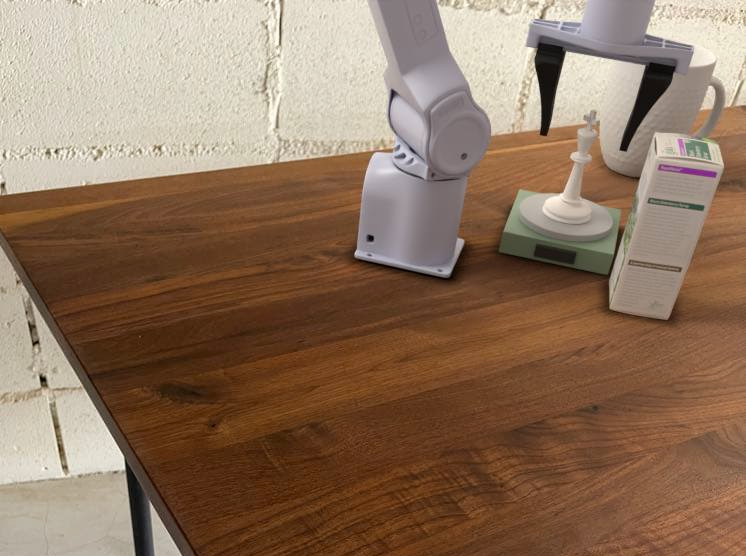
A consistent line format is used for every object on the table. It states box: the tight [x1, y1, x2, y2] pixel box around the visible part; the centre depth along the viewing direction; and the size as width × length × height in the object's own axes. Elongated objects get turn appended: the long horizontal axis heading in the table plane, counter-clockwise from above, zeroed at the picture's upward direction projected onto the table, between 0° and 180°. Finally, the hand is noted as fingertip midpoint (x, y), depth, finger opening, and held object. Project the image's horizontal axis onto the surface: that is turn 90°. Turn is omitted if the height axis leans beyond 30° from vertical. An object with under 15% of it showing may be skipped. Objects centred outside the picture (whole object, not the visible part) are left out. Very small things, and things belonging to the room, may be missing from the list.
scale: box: [498, 188, 623, 276], centre depth 91 cm, size 11×11×3 cm
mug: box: [598, 35, 726, 179], centre depth 104 cm, size 15×11×13 cm
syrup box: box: [608, 132, 725, 321], centre depth 79 cm, size 6×6×14 cm
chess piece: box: [542, 109, 600, 224], centre depth 87 cm, size 5×5×10 cm
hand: (583, 140), depth 85 cm, fingers open, 7 cm apart
